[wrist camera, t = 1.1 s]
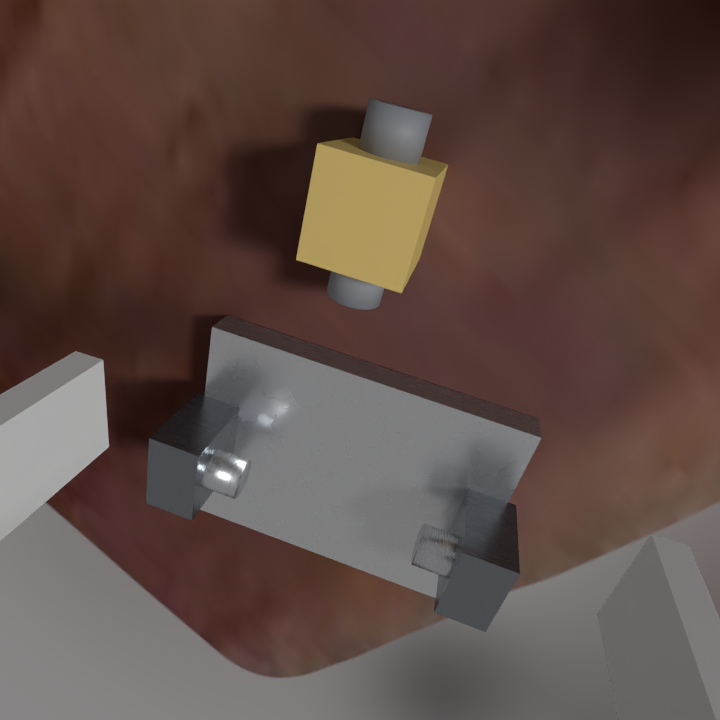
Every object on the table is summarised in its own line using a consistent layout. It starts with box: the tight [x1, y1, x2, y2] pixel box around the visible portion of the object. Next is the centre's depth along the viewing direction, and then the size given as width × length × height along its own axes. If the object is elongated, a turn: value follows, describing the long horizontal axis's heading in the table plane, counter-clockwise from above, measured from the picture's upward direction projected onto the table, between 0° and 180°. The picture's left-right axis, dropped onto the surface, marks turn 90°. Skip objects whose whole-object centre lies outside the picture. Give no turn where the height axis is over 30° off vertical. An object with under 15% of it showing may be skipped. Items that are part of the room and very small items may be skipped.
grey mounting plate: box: [146, 315, 541, 632], centre depth 31 cm, size 21×15×7 cm
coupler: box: [296, 98, 448, 310], centre depth 24 cm, size 9×5×6 cm, turn 166°
